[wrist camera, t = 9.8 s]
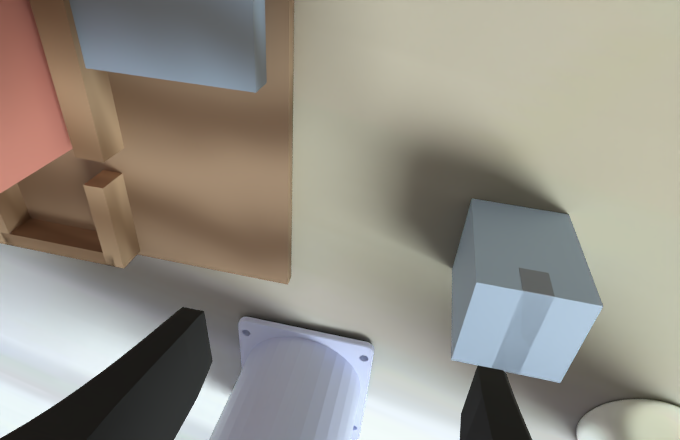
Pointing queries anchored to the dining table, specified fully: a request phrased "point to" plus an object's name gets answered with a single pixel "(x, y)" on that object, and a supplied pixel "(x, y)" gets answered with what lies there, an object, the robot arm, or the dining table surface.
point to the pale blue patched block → (520, 291)
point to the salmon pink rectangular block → (26, 98)
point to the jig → (166, 136)
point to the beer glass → (631, 421)
